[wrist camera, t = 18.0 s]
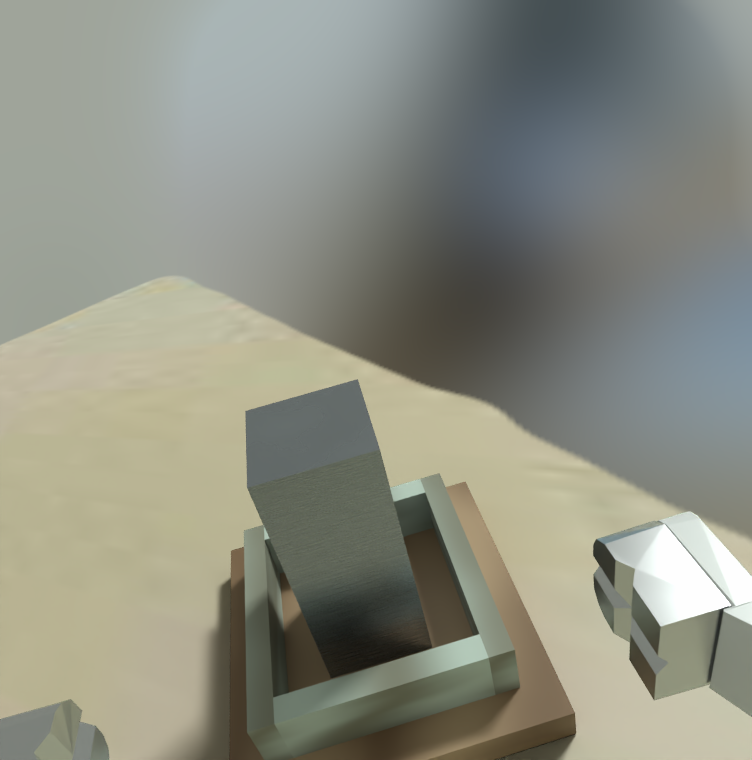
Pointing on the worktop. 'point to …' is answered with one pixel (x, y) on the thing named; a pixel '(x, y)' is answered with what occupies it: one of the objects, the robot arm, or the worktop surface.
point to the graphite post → (335, 526)
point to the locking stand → (401, 675)
